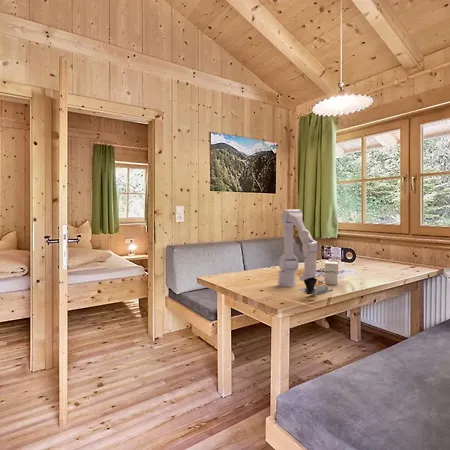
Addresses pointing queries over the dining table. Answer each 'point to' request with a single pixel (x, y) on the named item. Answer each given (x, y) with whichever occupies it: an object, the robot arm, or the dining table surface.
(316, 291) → the cover bar
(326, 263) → the supplement box
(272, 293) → the dining table surface
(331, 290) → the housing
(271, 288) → the dining table surface
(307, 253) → the robot arm
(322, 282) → the orange knob block
